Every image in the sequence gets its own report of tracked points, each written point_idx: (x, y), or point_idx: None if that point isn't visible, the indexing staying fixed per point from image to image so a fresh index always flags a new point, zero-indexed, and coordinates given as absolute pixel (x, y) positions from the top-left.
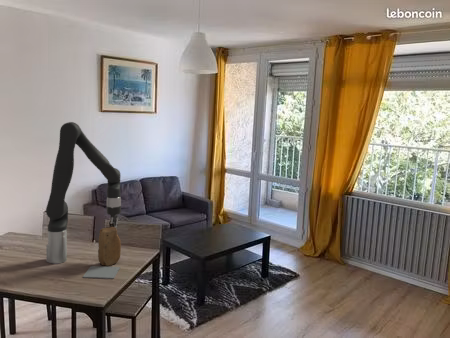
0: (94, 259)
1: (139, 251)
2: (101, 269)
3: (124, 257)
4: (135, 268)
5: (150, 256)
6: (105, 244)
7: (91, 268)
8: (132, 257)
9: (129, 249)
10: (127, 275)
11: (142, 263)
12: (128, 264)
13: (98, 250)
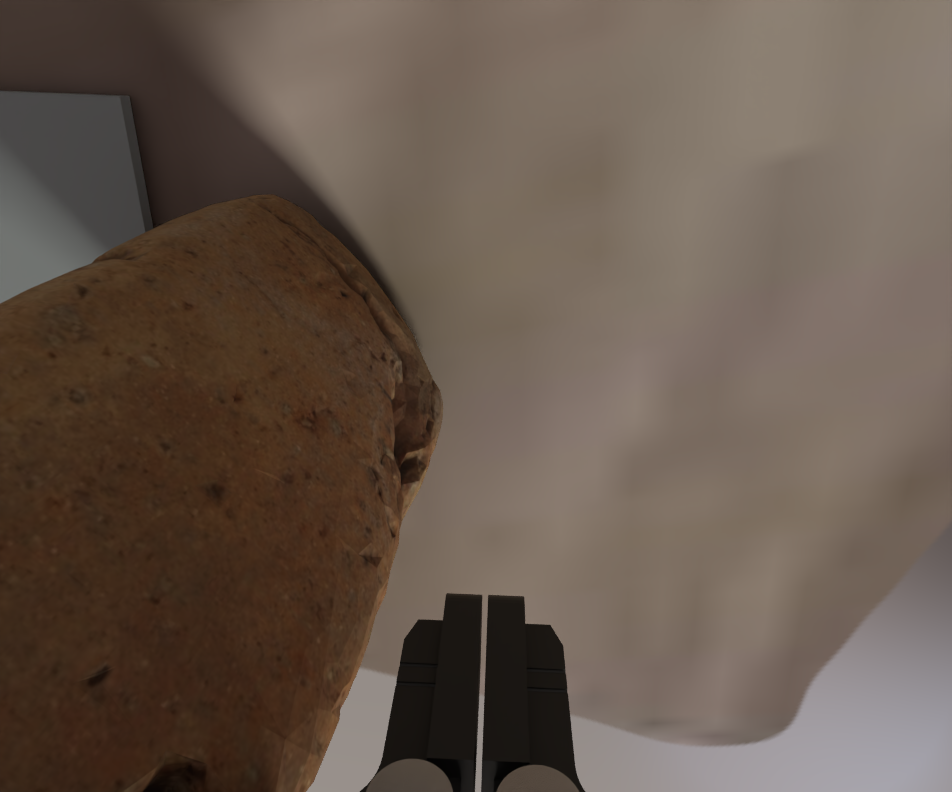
0: (449, 63)
1: (757, 607)
2: None
3: (550, 477)
4: None
5: (585, 710)
6: None
7: (33, 132)
8: (552, 559)
9: (854, 496)
10: None
11: (380, 661)
12: None
13: (117, 246)
